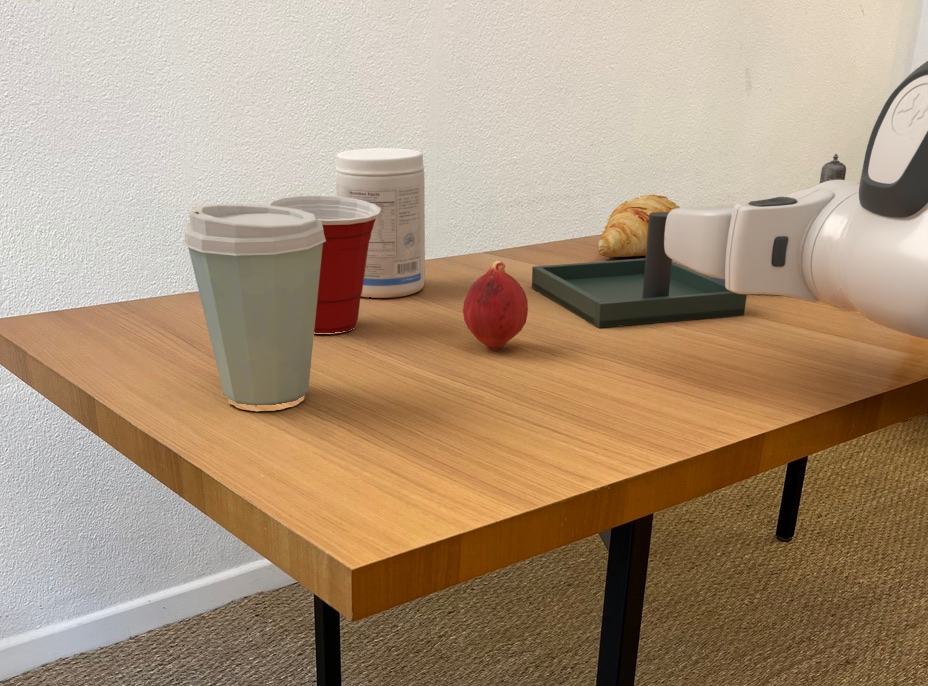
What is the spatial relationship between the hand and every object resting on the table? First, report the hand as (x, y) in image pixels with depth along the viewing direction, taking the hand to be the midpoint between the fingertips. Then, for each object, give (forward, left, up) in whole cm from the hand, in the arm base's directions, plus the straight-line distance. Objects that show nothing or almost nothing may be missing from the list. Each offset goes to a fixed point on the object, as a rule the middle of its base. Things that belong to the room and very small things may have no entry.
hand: (739, 213), depth 91 cm
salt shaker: (-34, -34, -12) cm, 49 cm away
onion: (+20, -6, -12) cm, 24 cm away
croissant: (-13, -43, -12) cm, 47 cm away
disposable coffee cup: (+42, +2, -12) cm, 44 cm away
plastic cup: (+33, -18, -12) cm, 40 cm away
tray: (0, -18, -12) cm, 22 cm away
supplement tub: (+24, -32, -12) cm, 42 cm away
